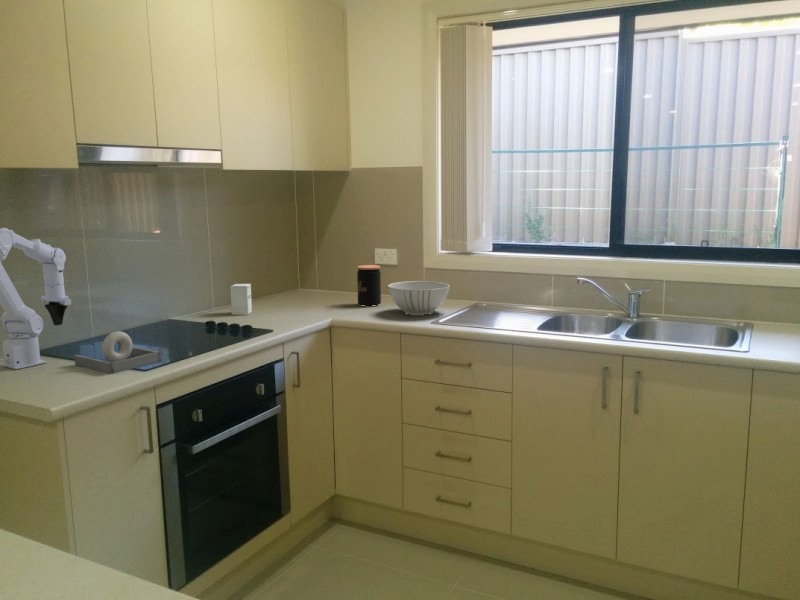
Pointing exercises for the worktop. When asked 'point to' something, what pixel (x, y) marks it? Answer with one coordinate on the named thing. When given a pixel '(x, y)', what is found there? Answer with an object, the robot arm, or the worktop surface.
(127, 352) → the donut
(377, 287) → the coffee jar
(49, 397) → the worktop surface
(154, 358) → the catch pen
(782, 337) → the worktop surface
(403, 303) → the decorative bowl
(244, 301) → the supplement box
